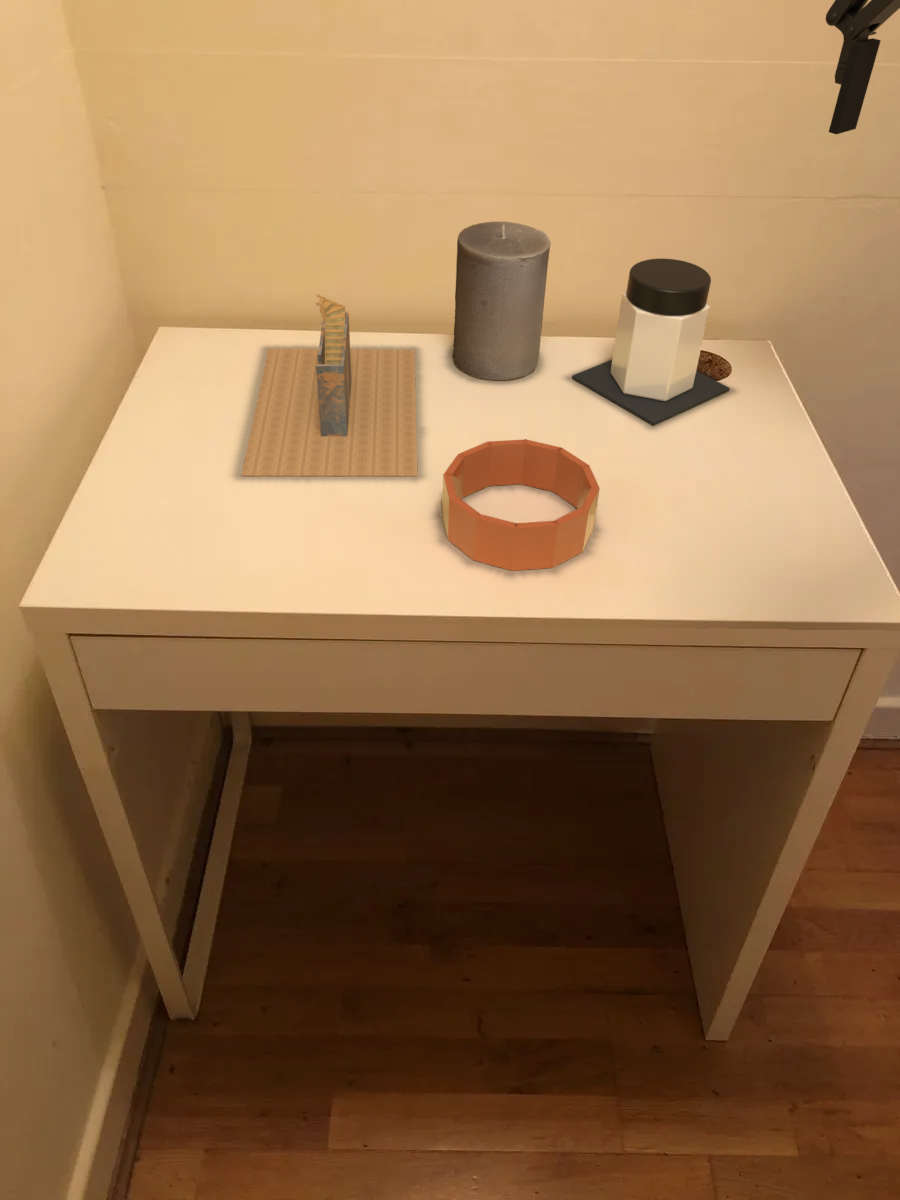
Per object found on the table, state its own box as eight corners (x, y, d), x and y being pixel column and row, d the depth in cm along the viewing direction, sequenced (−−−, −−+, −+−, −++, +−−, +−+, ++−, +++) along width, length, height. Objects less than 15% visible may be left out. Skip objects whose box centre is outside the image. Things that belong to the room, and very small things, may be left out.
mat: (729, 391, 106) (730, 387, 105) (653, 426, 100) (653, 422, 100) (647, 348, 112) (647, 345, 112) (571, 378, 107) (572, 375, 106)
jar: (697, 371, 108) (720, 265, 100) (686, 407, 102) (710, 297, 94) (617, 357, 110) (634, 252, 102) (602, 391, 104) (618, 282, 96)
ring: (621, 532, 86) (628, 490, 83) (510, 590, 80) (514, 547, 77) (523, 465, 94) (527, 424, 91) (414, 513, 88) (414, 471, 85)
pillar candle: (435, 354, 110) (437, 220, 100) (502, 332, 115) (511, 201, 105) (489, 390, 104) (497, 252, 94) (557, 365, 109) (572, 231, 99)
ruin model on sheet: (268, 349, 110) (259, 264, 103) (414, 350, 111) (414, 266, 104) (241, 475, 91) (228, 382, 85) (417, 476, 92) (417, 383, 86)
